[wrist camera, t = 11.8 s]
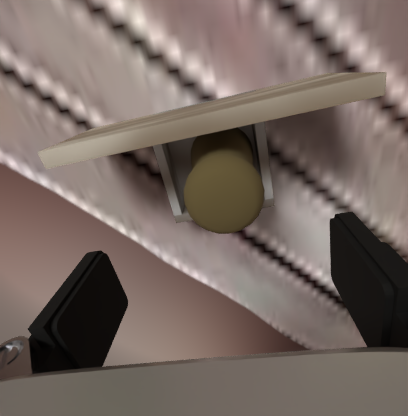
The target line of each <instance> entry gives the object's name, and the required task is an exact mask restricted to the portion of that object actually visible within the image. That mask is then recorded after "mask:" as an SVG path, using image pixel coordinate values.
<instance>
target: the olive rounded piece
mask: <svg viewBox="0 0 408 416" xmlns="http://www.w3.org/2000/svg"><path fill="white" fill-rule="evenodd" d="M191 164H192V171H191V173H190V174H189V175H188V177H187V180H186V184H185V188H184V203H185V206H186V208H187V211H188V213H189V215H190V217H191V218H192V219H193V220H194V221H195V222H196V224H197V225H199V226H201V227H202V228H204V229H206V230H208V231H211V232H215V233H219V234H229V233H233V232H237V231H240V230H242V229H244V228H245V227H247V226H249V225H250V224H251V223H252V222H253V221H254V220H255V219H256V218H257V217H258V215H259V213H260V211H261V209H262V206H263V203H264V191H265V190H264V186H263V183H262V179H261V177H260V175H259V173H258V172H257V171H256V169H255V168H254V167H253V148H252V144H251V141H250V139H249V138H248V137H247V135H246V134H245V133H244V132H243V131H242V130H240V129H239V128H238V127H236V128H232V129H227V130H223V131H218V132H214V133H209V134H204V135H200V136H197V137H196V139H195V140H194V142H193V145H192V148H191Z"/></svg>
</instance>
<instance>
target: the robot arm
mask: <svg viewBox="0 0 408 416" xmlns="http://www.w3.org/2000/svg"><path fill="white" fill-rule="evenodd" d="M330 254H331V277H332V280H333V283H334V285H335V287H336V289H337V290H338V292H339V294H340V296H341V298H342V300H343V302H344V304H345V305H346V307H347V309H348V311H349V313H350V315H351V317H352V319H353V321H354V322H355V324H356V326H357V328H358V330H359V332H360V334H361V336H362V337H363V339H364V341H365V343H366V345H367V347H362V348H342V349H325V350H308V351H296V352H295V351H294V352H281V353H267V354H254V355H241V356H228V357H214V358H202V359H191V360H190V359H189V360H177V361H165V362H153V363H140V364H129V365H118V366H106V367H102V366H103V363H104V361H105V359H106V357H107V354H108V352H109V349H110V347H111V345H112V342H113V340H114V337H115V335H116V333H117V330H118V328H119V325H120V323H121V321H122V318H123V316H124V314H125V311H126V309H127V306H128V299H127V296H126V294H125V292H124V290H123V288H122V285H121V284H120V281H119V279H118V277H117V274H116V272H115V270H114V268H113V266H112V264H111V261H110V259H109V257H108V255H107V254H105V253H103V252H102V251H94V252H89V253H87V254H86V255H85V256H84V257H83V259H82V260H81V261H80V262H79V264H78V265H77V266H76V268H75V269H74V270H73V272H72V273H71V274H70V275H69V277H68V278H67V279H66V281H65V282H64V283H63V284H62V286H61V287H60V288H59V290H58V291H57V292H56V293H55V295H54V296H53V297H52V298H51V300H50V301H49V302H48V304H47V305H46V306H45V307H44V309H43V310H42V311H41V313H40V314H39V315H38V316H37V318H36V319H35V320H34V322H33V323H32V324H31V325H30V327H29V328H28V330H29V332H30V333H31V334H32V335H31V336H30V338H29V339H28V338H26V337H24V336H18V337H15V338H12V339H10V340H8V341H6V342H4V343H2V344H1V345H0V416H408V264H407V263H406V262H405V261H404V260H403V259H402V258H401V257H400V255H399V254H398V253H397V252H396V251H395V250H394V249H393V248H392V247H391V246H390V245H388V244H387V243H385V242H381V241H380V240H379V239H378V238H377V237H376V236H375V235H374V234H373V233H372V232H371V231H370V230H369V229H368V228H367V227H366V226H365V225H364V224H363V223H362V221H361V220H360V219H359V218H358V217H357V216H356V215H355V214H354V213H353V212H346V213H340V214H335V217H334V218H332V219H330Z"/></svg>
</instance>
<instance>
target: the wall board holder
mask: <svg viewBox="0 0 408 416" xmlns="http://www.w3.org/2000/svg"><path fill="white" fill-rule="evenodd" d="M385 87H386V72H375V73H326V74H322V75H318V76H313V77H309V78H305V79H301V80H296V81H292V82H288V83H284V84H279V85H275V86H271V87H267V88H262V89H258V90H254V91H250V92H245V93H241V94H237V95H233V96H229V97H224V98H220V99H216V100H212V101H207V102H203V103H199V104H195V105H190V106H186V107H182V108H178V109H173V110H169V111H165V112H161V113H156V114H152V115H148V116H144V117H139V118H135V119H131V120H127V121H123V122H118V123H114V124H110V125H106V126H101V127H97V128H93V129H91V130H88V131H86V132H84V133H81V134H79V135H77V136H74V137H72V138H70V139H68V140H65V141H63V142H61V143H58V144H56V145H54V146H51V147H49V148H47V149H44V150H42V151H40V152H38V154H39V156H40V158H41V160H42V162H43V164H44V166H45V168H46V169H49V168H53V167H58V166H63V165H67V164H72V163H76V162H81V161H85V160H90V159H95V158H99V157H104V156H108V155H113V154H117V153H122V152H127V151H131V150H136V149H140V148H145V147H149V146H153V149H154V153H155V156H156V159H157V162H158V166H159V169H160V172H161V175H162V179H163V182H164V185H165V188H166V192H167V195H168V198H169V201H170V204H171V208H172V211H173V214H174V217H175V221H176V223H179V222H185V221H190V220H193V219H192V218H191V217H190V215H189V213H188V211H187V208H186V206H185V203H184V188H185V184H186V180H187V177H188V175H189V174H190V173H191V171H192V164H191V148H192V145H193V142H194V140H195V139H196V137H197V136H200V135H204V134H209V133H214V132H218V131H223V130H227V129H232V128H236V127H238V128H239V129H240V130H242V131H243V132H244V133H245V134H246V135H247V137H248V138H249V139H250V141H251V144H252V148H253V167H254V168H255V169H256V171H257V172H258V173H259V175H260V177H261V179H262V183H263V186H264V190H265V191H264V203H263V206H262V208H265V207H271V206H274V197H273V189H272V181H271V172H270V164H269V155H268V147H267V139H266V130H265V122H264V121H268V120H273V119H278V118H282V117H287V116H291V115H296V114H300V113H305V112H310V111H314V110H319V109H323V108H328V107H332V106H337V105H342V104H346V103H351V102H355V101H360V100H364V99H369V98H374V97H378V96H383V95H385Z"/></svg>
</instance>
